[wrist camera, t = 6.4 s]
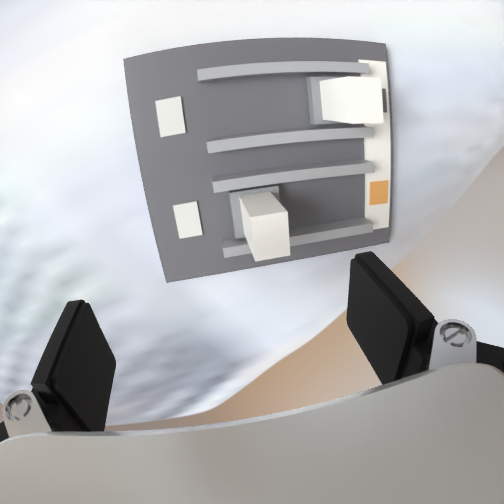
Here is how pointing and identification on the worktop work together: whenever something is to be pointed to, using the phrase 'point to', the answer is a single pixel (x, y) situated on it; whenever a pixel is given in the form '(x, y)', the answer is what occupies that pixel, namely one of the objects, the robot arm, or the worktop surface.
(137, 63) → the switch unit
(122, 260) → the worktop surface
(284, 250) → the switch
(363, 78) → the switch
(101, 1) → the worktop surface
